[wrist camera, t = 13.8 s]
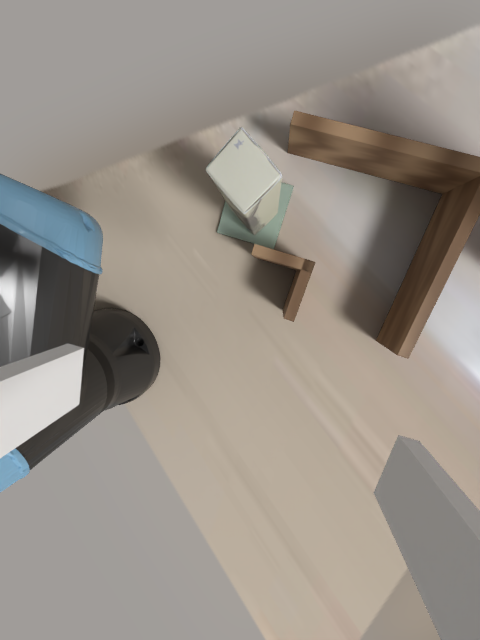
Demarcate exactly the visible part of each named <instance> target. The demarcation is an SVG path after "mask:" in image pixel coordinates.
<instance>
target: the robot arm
mask: <svg viewBox="0 0 480 640" xmlns="http://www.w3.org/2000/svg"><path fill="white" fill-rule="evenodd" d="M102 243H103V234H102V230H101V227H100V225H99V224H98V222H97V221H96V220H95V219H94V218H93V217H92V216H90V215H89V214H87V213H86V212H84V211H82V210H80V209H78V208H76V207H74V206H72V205H70V204H67V203H65V202H63V201H61V200H59V199H56V198H54V197H52V196H50V195H48V194H45V193H43V192H41V191H39V190H36V189H34V188H32V187H30V186H27V185H25V184H23V183H20V182H18V181H16V180H13V179H11V178H9V177H7V176H4V175H2V174H0V492H2V491H3V490H5V489H6V488H7V487H9V486H10V485H12V484H13V483H14V482H16V481H17V480H19V479H22V478H23V477H25V476H26V475H27V474H28V473H29V471H30V470H31V469H32V468H33V467H35V466H36V465H37V464H38V463H39V462H40V461H42V460H43V459H44V458H46V457H47V456H48V455H49V454H51V453H52V452H53V451H54V450H55V449H57V448H58V447H59V446H60V445H62V444H63V443H64V442H65V441H67V440H68V439H69V438H70V437H72V436H73V435H74V434H75V433H77V432H78V431H79V430H80V429H81V428H83V427H84V426H85V425H87V424H88V423H89V422H90V421H92V420H93V419H94V418H95V417H96V416H98V415H99V414H100V413H101V412H103V411H104V410H107V409H110V408H113V407H115V406H116V405H121V404H125V403H128V402H131V401H133V400H135V399H136V398H138V397H139V396H141V395H142V394H143V393H144V392H145V391H146V390H148V389H149V388H150V387H151V385H152V384H153V383H154V381H155V379H156V377H157V375H158V372H159V368H160V352H159V348H158V344H157V342H156V339H155V337H154V335H153V334H152V332H151V331H150V329H149V328H148V327H147V326H146V324H144V323H143V322H142V321H141V320H140V319H139V318H137V317H136V316H134V315H133V314H131V313H129V312H126V311H124V310H120V309H114V308H106V309H100V310H96V311H93V310H94V304H95V298H96V291H97V285H98V279H99V274H102V268H101V267H100V266H101V255H102ZM374 494H375V496H376V499H377V501H378V503H379V505H380V507H381V510H382V512H383V514H384V516H385V518H386V521H387V523H388V525H389V527H390V529H391V532H392V534H393V536H394V538H395V540H396V543H397V545H398V547H399V549H400V551H401V553H402V556H403V558H404V560H405V562H406V564H407V567H408V569H409V571H410V573H411V575H412V578H413V580H414V582H415V584H416V586H417V589H418V591H419V593H420V595H421V597H422V599H423V602H424V604H425V606H426V608H427V610H428V613H429V615H430V617H431V619H432V621H433V624H434V625H435V628H436V630H437V632H438V635H439V637H440V639H441V640H480V511H479V509H478V508H477V507H476V506H475V505H474V504H473V503H472V501H471V500H470V499H469V498H468V497H467V496H466V494H465V493H464V492H463V491H462V490H461V489H460V488H459V486H458V485H457V484H456V483H455V482H454V481H453V479H452V478H451V477H450V476H449V475H448V474H447V473H446V471H445V470H444V469H443V468H442V467H441V466H440V464H439V463H438V462H437V461H436V460H435V459H434V457H433V456H432V455H431V454H430V453H429V452H428V451H427V449H426V448H425V447H424V446H423V445H422V444H421V442H420V441H418V440H414V439H411V438H407V437H403V436H400V435H398V437H397V440H396V442H395V444H394V447H393V449H392V451H391V454H390V456H389V458H388V461H387V463H386V465H385V468H384V470H383V472H382V475H381V477H380V479H379V482H378V484H377V486H376V489H375V491H374Z"/></svg>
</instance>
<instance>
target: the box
mask: <svg viewBox="0 0 480 640" xmlns="http://www.w3.org/2000/svg"><path fill="white" fill-rule="evenodd" d="M206 172H207V173H208V175H209V176H210V177H211V179H212V180H213V182H214V184H215V185H216V187H217V188H218V190H219V191H220V193H221V194H222V196H223V198H224V199H225V201H226V202H227V204H228V205H229V207H230V208H231V210H232V211H233V212H234V213H235V214H236V216H237V217H238V218H239V219H240V220H241V222H242V223H243V224H244V225H245V226H246V227H247V228H248V229H249V230H250V232H251V233H252V234H253V235H256V234H257V233H258V232H259V231H260V230H261V229H262V228H263V227H264V226H266V225H267V224H268V223H269V222H270V221H271V220H272V219H273V218H274V216H275V215H276V214H277V213H278V206H279V197H280V190H281V182H282V174H281V172H280V171H279V170H278V168H277V167H276V166H275V164H274V163H273V162H272V161H271V160H270V158H269V157H268V156H267V155H266V154H265V152H264V151H263V150H262V149H261V148H260V147H259V145H258V144H257V143H256V142H255V141H254V140H253V139H252V137H251V136H250V135H249V134H248V133H247V132H246V131H245V130H244V128H242V127H241V128H240V129H238V130H237V132H236V133H235V134H234V135H233V136H232V137H231V139H230V140H229V141H228V142H227V143H226V144H225V145H224V147H223V148H222V149H221V150H220V151H219V152H218V154H217V155H216V156H215V157H214V158H213V160H212V161H211V162H210V163H209V165H208V166H207V167H206Z"/></svg>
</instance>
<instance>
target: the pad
mask: <svg viewBox="0 0 480 640" xmlns="http://www.w3.org/2000/svg"><path fill="white" fill-rule="evenodd" d="M293 187H294V186H292V185H289V184H285V183H281V190H280V197H279V206H278V213H277V214H276V215H275V216H274V218H273V219H272V220H271V221H270V222H269V223H268V224H267V225H266V226H264V227H263V228H262V229H261V230H260V231H259V232H258V233H257V234H256V235H253V234H252V233H251V232H250V230H249V229H248V228H247V227H246V226H245V225H244V224H243V223H242V222H241V220H240V219H239V218H238V217H237V216H236V214H235V213H234V212H233V211H232V210H231V208H230V207H229V205H228V204H227V202H226V201H225V204H224V208H223V212H222V216H221V220H220V224H219V227H218V231H217V233H220V234H224V235H227V236H230V237H234V238H237V239H240V240H244V241H247V242H250V243H254V244H257V245H260V246H264V247H267V248H270V249H273V250H274V247H275V243H276V240H277V237H278V234H279V231H280V228H281V225H282V222H283V218H284V215H285V212H286V209H287V206H288V203H289V200H290V197H291V193H292V190H293Z"/></svg>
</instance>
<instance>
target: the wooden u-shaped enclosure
mask: <svg viewBox="0 0 480 640" xmlns="http://www.w3.org/2000/svg"><path fill="white" fill-rule="evenodd" d="M288 153H290V154H294V155H298V156H301V157H305V158H309V159H313V160H316V161H320V162H324V163H328V164H331V165H335V166H339V167H343V168H347V169H350V170H354V171H358V172H362V173H365V174H369V175H373V176H377V177H380V178H384V179H388V180H392V181H395V182H399V183H403V184H407V185H411V186H414V187H418V188H422V189H426V190H429V191H433V192H437V193H441V194H442V196H441V198H440V200H439V203H438V205H437V207H436V209H435V211H434V214H433V216H432V218H431V220H430V222H429V225H428V227H427V229H426V231H425V234H424V236H423V238H422V240H421V242H420V245H419V247H418V249H417V251H416V253H415V256H414V258H413V260H412V262H411V264H410V267H409V269H408V271H407V273H406V275H405V278H404V280H403V282H402V284H401V286H400V289H399V291H398V293H397V295H396V298H395V300H394V302H393V304H392V306H391V309H390V311H389V313H388V315H387V317H386V320H385V322H384V324H383V326H382V328H381V331H380V333H379V335H378V337H377V339H376V341H377V342H379V343H380V344H382V345H383V346H385V347H386V348H388V349H389V350H390V351H392V352H393V353H395V354H396V355H398V356H401V357H404V358H407V359H408V358H409V356H410V354H411V352H412V350H413V348H414V346H415V344H416V342H417V340H418V338H419V336H420V334H421V332H422V330H423V328H424V326H425V324H426V322H427V320H428V318H429V316H430V314H431V312H432V310H433V308H434V306H435V304H436V302H437V300H438V298H439V296H440V294H441V292H442V290H443V288H444V286H445V284H446V282H447V280H448V278H449V276H450V274H451V271H452V269H453V267H454V265H455V263H456V261H457V259H458V257H459V255H460V253H461V251H462V249H463V247H464V245H465V243H466V241H467V239H468V237H469V235H470V233H471V231H472V229H473V227H474V225H475V223H476V221H477V219H478V217H479V215H480V157H478V156H474V155H470V154H466V153H462V152H458V151H454V150H450V149H446V148H442V147H438V146H434V145H430V144H426V143H422V142H418V141H414V140H410V139H406V138H402V137H398V136H394V135H390V134H386V133H382V132H378V131H374V130H370V129H366V128H362V127H358V126H354V125H350V124H346V123H342V122H338V121H334V120H330V119H326V118H322V117H318V116H314V115H310V114H306V113H302V112H298V111H294V114H293V117H292V120H291V124H290V133H289V143H288ZM251 255H253V256H254V257H255V258H258V259H261V260H265V261H268V262H271V263H275V264H278V265H281V266H284V267H288V268H291V269H294V270H296V273H295V276H294V279H293V282H292V285H291V288H290V291H289V293H288V296H287V299H286V302H285V305H284V308H283V317H284V319H287V320H290V321H293V322H294V320H295V317H296V314H297V312H298V309H299V306H300V303H301V301H302V298H303V295H304V292H305V290H306V287H307V284H308V281H309V278H310V276H311V273H312V270H313V267H314V265H315V262H313V261H310V260H307V259H303V258H300V257H297V256H293V255H290V254H287V253H283V252H280V251H277V250H273V249H270V248H267V247H264V246H260V245H257V244H254V247H253V250H252V253H251Z"/></svg>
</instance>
